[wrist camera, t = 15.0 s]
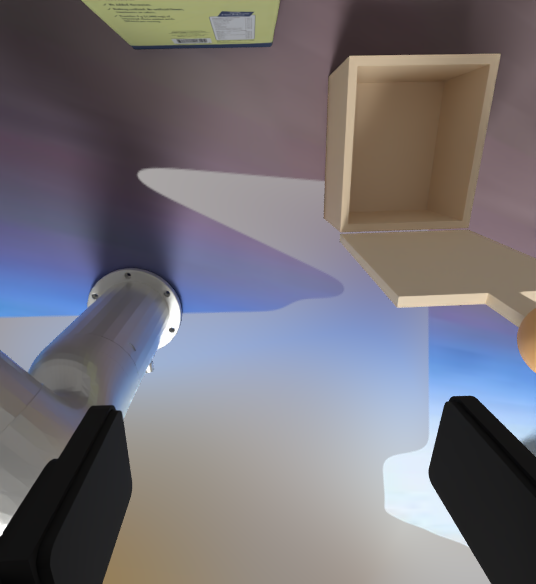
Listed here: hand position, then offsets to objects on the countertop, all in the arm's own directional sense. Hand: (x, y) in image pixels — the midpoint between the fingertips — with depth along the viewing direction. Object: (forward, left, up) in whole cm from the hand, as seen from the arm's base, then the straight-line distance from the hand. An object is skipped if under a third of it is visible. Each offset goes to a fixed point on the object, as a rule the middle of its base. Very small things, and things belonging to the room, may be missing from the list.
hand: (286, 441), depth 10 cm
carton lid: (+1, -16, -17) cm, 23 cm away
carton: (+8, -16, -38) cm, 42 cm away
